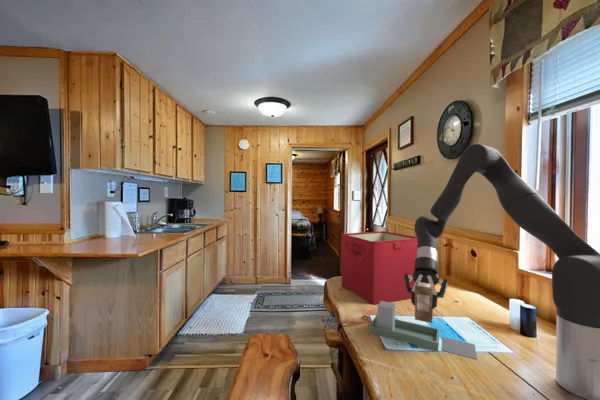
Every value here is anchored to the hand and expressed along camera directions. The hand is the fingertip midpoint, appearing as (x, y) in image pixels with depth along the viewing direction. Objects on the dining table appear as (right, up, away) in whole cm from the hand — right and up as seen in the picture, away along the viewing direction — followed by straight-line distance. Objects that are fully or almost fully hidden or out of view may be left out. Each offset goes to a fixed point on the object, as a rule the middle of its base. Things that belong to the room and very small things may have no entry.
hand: (423, 305), depth 86 cm
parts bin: (-4, -12, +5) cm, 14 cm away
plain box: (-10, -12, +8) cm, 17 cm away
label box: (+1, -5, +2) cm, 5 cm away
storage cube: (0, -12, +47) cm, 49 cm away
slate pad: (+10, -12, -3) cm, 16 cm away
